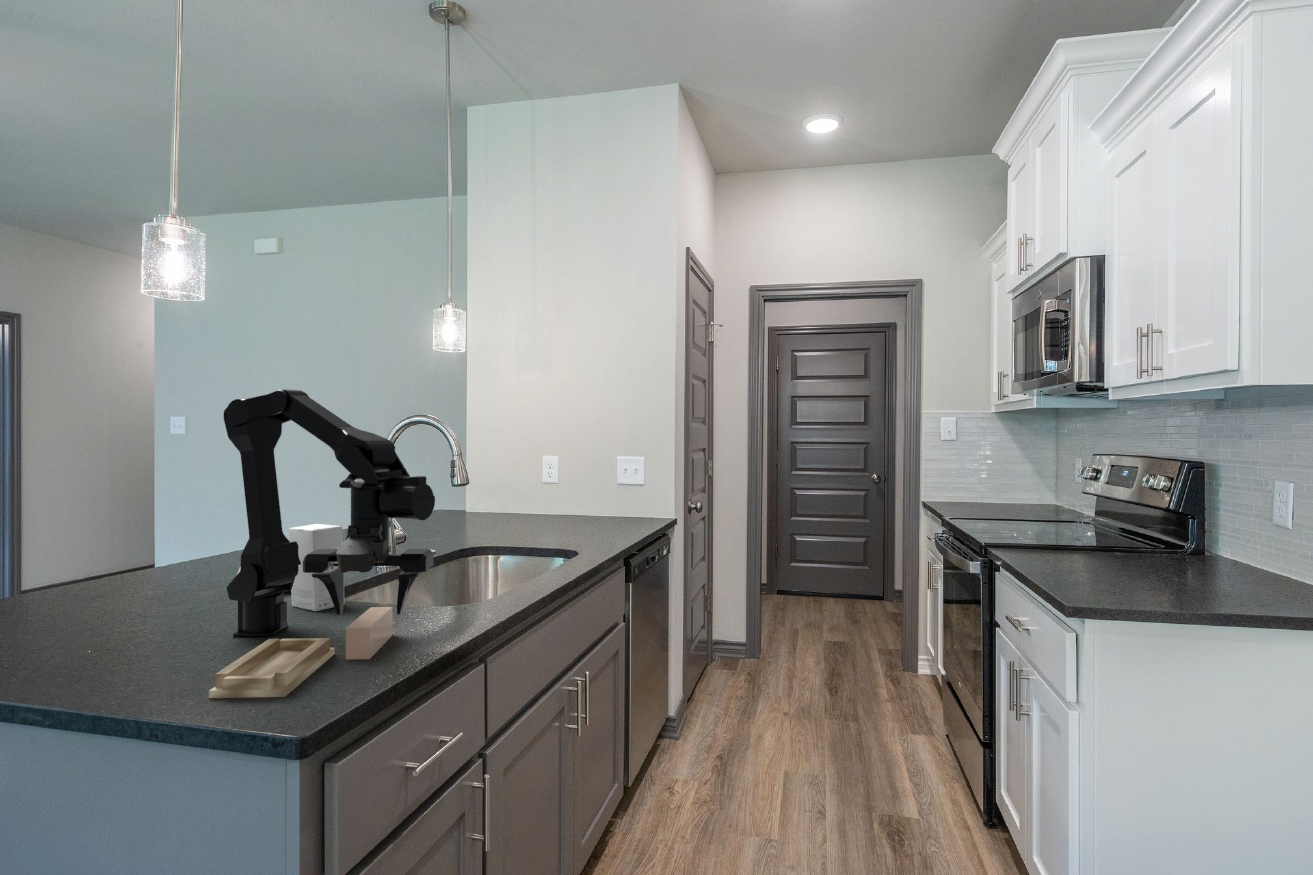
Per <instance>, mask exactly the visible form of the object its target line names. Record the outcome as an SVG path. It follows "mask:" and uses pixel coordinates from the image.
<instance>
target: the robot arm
mask: <svg viewBox="0 0 1313 875" xmlns="http://www.w3.org/2000/svg"><path fill="white" fill-rule="evenodd" d="M291 421H292V422H294V423H295V424H296V425H298V426H300V427H301V428H302V429H304V430H305V431H306V432H308V433H309V434H311V435H312V436H314V437H315V438H317V439H318V440H319V441H321V442H322V443H324V444H325V445H326V446H328V447H329V448H330V449H331V450H332V451H333V454H334V456H335V459H336V461H338V463H339V464H341V466H342V467H343V468H344V469H345V470H346V471H347V472H348V473H349V474H348V476H347V477H346V478H344V479H343V480H342V481H341V482H340V483H339V484H338V486H339V488H341V489H350V524H349V525H348V526H347V535H346V538H345V540H343V543H342V544H341V546H340V547H339V549H318V550H315V551H313V552H311V553H309V554H307V555H306V556H305V557H304V560H303V572H304V573H314V574H312V577H313V578H318V579H319V580H321V581H322V582H323V583H324V585H325V586H326V588H327V590H328V592H329V594H330V597H331V599H332V602H333V604H334V607H333V608H334V609H335V612H336V614H337V616H341V615H343V612H344V605H345V603H344V601H345V577H344V575H345V574H346V573H348V572H358V573H359V572H360V573H368V572H370V571H371V570H372V569H373V568H374V567H399V568H400V570H402V571H400V573H398V574H397V580H398V588H397V599H396V614H397V615H400V614H402V612H403V610H404V607H405V604H406V601H407V598H408V596H409V594H410V591H411V589H412V587H413V584H414V582H415V580H416V579H417V578H418V577H419V576H420V575H422V574H423V573H424V572H427V571H429V569H430V568H432V567H433V566H434V553H433V552H432V550H431V549H430V548H408V549H406V550H405V551H404V552H401V554H394V553H393V554H390V553H391V552H392V548H391V547H392V546H391V545H390V528H391V527H392V520H390V519H397V520H398V519H399V520H411V521H425V520H427V519H428V518H430V517H431V515H432V514H433V511H434V510H435V509H434V508H435V505H436V497H435V496H436V495H434V491H433V489H432V488H431V486H430V485H429V484H427V476H425V475H418V476H417V475H416V476H411V475H410V473H409V472H408V471H407V469H406V467H405V466H404V463H403V462H402V461H401V459H400V458H399V455H398V454H397V453H396V446H395V445H394V443H393V442H392V441H391V440H390V439H388V438H386V437H384V436H381V435H379V434H376V433H372V432H370V431H367V430H362V429H359V428H356V427H354V426H352V425H351V424H350V423H348V422H347V421H345V420H344V419H342V418H340V417H339V416H338V415H336V414H335V413H333V412H332V411H330V410H329V409H327V408H326V407H324V406H323V405H321V404H320V403H318V402H317V401H315V400H314V399H312V398H311V397H310V396H309V394H308V393H306V392H304V391H303V390H301V389H287V388H286V389H283V388H282V389H278V390H275V391H272V392H269V393H267V394H264V395H263V394H262V395H258V396H254V397H249V398H246V399H245V398H236V399H233V400H231V401H230V402H229V403H228V405H227V407H226V408H224V411H223V422H224V426H225V430H226V434H227V437H228V440H230V442H231V444H233V446H234V447H235V448H236V449H237V451H238V452H239V455H240V461H241V463H240V464H241V472H242V481H243V490H244V498H245V501H244V502H245V507H246V509H245V510H246V518H247V526H248V540H247V542H246V544H245V546H244V548H243V550H242V553H240V554H241V555H240V566H241V569H240V572H239V573H238V572H237V573H238V574H237V573H236V575H237V576H235V577H233V579H232V580H231V582H229V584H228V585H227V586H226V592H227V595H228V596H227V597H228V600H230V601H236V602H237V630H235V631H234V632H232V634H231V635H232V637H270V636H274V635H276V634H277V633H279V632H280V631H282V630H283V629H285V628H287V627H288V626H289V622H288V602H287V601H285V592H291V590H292V587H293V583H294V580H295V577H296V576H297V575H298V571H299V566H298V565H301V562H300V559H299V555H298V544H297V542H296V541H295V542H290V540H289V539H288V537H287V536H286V535H285V534H284V531H283V525H282V524H283V523H282V516H281V515H282V514H281V506H280V505H281V504H280V498H279V496H280V495H279V486H278V477H277V469H276V468H277V467H276V461H275V460H276V459H275V448H276V446H277V444H278V442H279V440H280V439H281V436H282V433H283V424H285V423H288V422H291ZM344 573H345V574H344Z"/></svg>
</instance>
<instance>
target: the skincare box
mask: <svg viewBox="0 0 1313 875" xmlns="http://www.w3.org/2000/svg"><path fill="white" fill-rule="evenodd" d="M288 535H289V537H288V538H289V539H288V540H289V541H290V542H295V541H296V542H297V544H298V555H299V559H300V562H301V565H298V566H299V571H298V575H297V576H296V577H295V580H294V583H293V587H292V590H291V591H290V593H291V594H290V595H291V606H292V607H296V608H299V609H303V610H308V611H312V612H319V611H325V610H328V609H332V608H335V607H334V604H333V602H332V599H331V597H330V594H329V592H328V590H327V588H326V586H325V585H324V583H323V582H322V581H321V580H319V579H318V578H313V577H312V574H314V573H304V572H303V560H304V557H305V556H306V555H307V554H309V553H311V552H313V551H315V550H318V549H339V547H340V546H341V544H342V543H343V542H344V540H343V539H344V538H343V526H342V525H333V524H324V523H323V524H321V523H314V524H307V525H302V526H294V527H289V528H288ZM345 603H346V602H345V600H344V604H345Z"/></svg>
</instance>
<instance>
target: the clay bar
mask: <svg viewBox="0 0 1313 875" xmlns="http://www.w3.org/2000/svg"><path fill="white" fill-rule="evenodd" d="M392 636H393V606H377V607H376V606H375V607H374V606H372V607H371V606H370V607H369V608H368V609H367V610H366V611H365V612H363V613H362V614H361V615H359V617H357V618H356V619H355V620H354V621H353V622H351V623H350V624H348V625H347V627H345V660H346V661H347V660H370V659H371V658H372V657H373V656H374V655H375V654H376V653H377V652H378V651H379V650H380V649H381V648H382V647H383V646H384V645H385V644H386V643H387V642H388V641H389V640H390V638H392Z"/></svg>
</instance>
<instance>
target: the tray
mask: <svg viewBox="0 0 1313 875" xmlns="http://www.w3.org/2000/svg"><path fill="white" fill-rule="evenodd" d="M335 654H336V652H335V647H331V637H320V638H319V637H318V638H317V637H313V638H312V637H311V638H307V637H306V638H305V637H304V638H300V637H299V638H268V639H267V640H265V641H264V642H263V643H261V644H259V645H258V646H256V647H254V648H253V649H251V650H250V651H248V652H246V653H245V654H244V655H242V656H241V657H239V658H238V659H236V660H234V661H233V662H231V663H229V665H226V666H225V667H224V668H222V669H220V670H219V671H218V672H216V673H214V674H215V675H214V681H215V682H214V687H212V688H211V689H209V690H208V698H209V699H228V698H229V699H238V698H239V699H240V698H241V699H242V698H243V699H244V698H245V699H246V698H278V697H279V698H286V697H287V696H288V695H289V694H290V693H291V692H292V691H293V690H295V689H296V688H298V686H300V684H302V683H303V682H304V681H305V680H307V679H308V678H309V677H310V676H312V674H313V673H315V672H316V671H317V670H318V669H319V668H320V667H322V665H324V664H325V663H326V662H327V661H329V659H331V658H332V657H333V656H334V655H335Z"/></svg>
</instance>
